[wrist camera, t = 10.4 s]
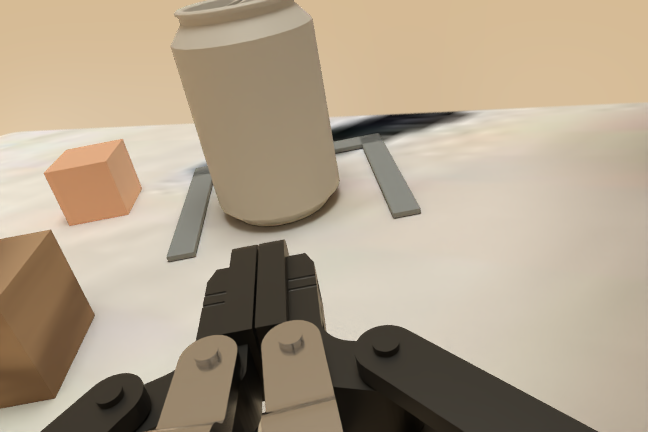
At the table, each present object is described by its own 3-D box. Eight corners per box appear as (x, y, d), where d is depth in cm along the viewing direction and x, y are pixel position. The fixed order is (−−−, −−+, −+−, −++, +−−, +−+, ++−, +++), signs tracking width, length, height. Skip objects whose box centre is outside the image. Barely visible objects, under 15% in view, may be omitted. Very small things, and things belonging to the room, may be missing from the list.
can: (205, 205, 32) (141, 10, 27) (301, 164, 36) (264, -18, 30) (256, 249, 27) (190, 13, 21) (366, 196, 30) (335, -22, 24)
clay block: (142, 189, 37) (122, 138, 35) (128, 215, 33) (106, 161, 31) (89, 199, 37) (66, 149, 35) (70, 226, 33) (43, 173, 31)
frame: (379, 136, 38) (378, 133, 37) (420, 213, 27) (420, 208, 27) (196, 172, 38) (195, 168, 37) (168, 261, 27) (166, 257, 27)
